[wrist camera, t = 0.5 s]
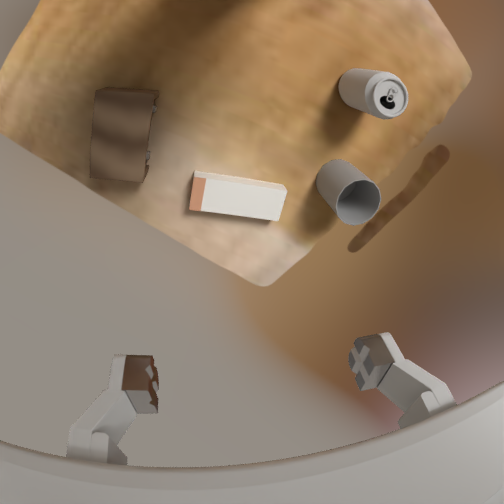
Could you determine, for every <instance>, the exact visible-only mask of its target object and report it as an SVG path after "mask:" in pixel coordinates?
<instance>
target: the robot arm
mask: <svg viewBox="0 0 504 504" xmlns="http://www.w3.org/2000/svg"><path fill="white" fill-rule="evenodd" d="M354 345H355V347H354V348H353V349H352V350H351V351H350V353H349V365H350V368H351V370H352V371H353V372H354V373H356V377H355V380H356V382H357V385H358V387H359V389H360V391H363V390H367V389H371V388H376V387H377V388H378V390H379V391H381V392H382V393H383V394H384V395H385V396H386V397H388V398H389V399H390V400H391V401H392V402H393V403H394V404H396V405H397V406H398V407H399V408H400V409H401V410H403V411H404V412H405V413H404V414H403V416H402V417H401V418H400V419H399V421H398V424H399V426H400V429H398V430H395V431H392V432H390V433H387V434H384V435H381V436H377V437H374V438H371V439H368V440H365V441H361V442H357V443H354V444H350V445H346V446H343V447H339V448H335V449H330V450H326V451H322V452H317V453H312V454H308V455H302V456H298V457H292V458H286V459H280V460H273V461H266V462H258V463H250V464H240V465H228V466H213V467H182V468H181V467H175V468H174V467H172V468H171V467H143V466H128V465H127V456H126V455H125V454H124V453H123V452H122V451H121V450H120V449H119V448H118V446H117V444H118V443H119V441H120V440H121V438H122V437H123V435H124V434H125V433H126V431H127V429H128V428H129V426H130V425H131V424H132V422H133V421H134V419H135V417H136V416H137V413H140V414H141V413H143V414H148V413H151V414H153V413H158V398H157V394H156V392H157V391H158V389H159V382H158V381H159V380H158V372H157V368H156V367H155V366H154V359H153V356H149V355H148V356H147V355H114V357H113V359H112V365H111V371H110V377H109V384H108V390H104V391H103V392H102V393H101V394H100V395H99V396H98V397H97V398H96V399H95V401H94V402H93V403H92V404H91V405H90V406H89V407H88V408H87V409H86V411H85V412H84V413H83V414H82V415H81V416H80V417H79V418H78V420H77V421H76V422H75V423H74V424H73V425H72V426H71V427H70V432H69V440H68V446H67V454H66V457H63V456H58V455H53V454H48V453H44V452H39V451H35V450H31V449H28V448H24V447H20V446H17V445H13V444H10V443H7V442H4V441H1V440H0V504H504V381H502V382H500V383H498V384H496V385H495V386H493V387H491V388H489V389H487V390H486V391H484V392H482V393H480V394H478V395H476V396H475V397H472V398H470V399H468V400H466V401H464V402H462V403H461V404H458V405H457V404H456V402H455V400H454V398H453V396H452V394H451V393H450V391H449V389H448V387H447V385H446V384H445V383H444V382H442V381H441V380H439V379H437V378H436V377H434V376H433V375H431V374H430V373H428V372H427V371H425V370H424V369H422V368H420V367H419V366H417V365H416V364H414V363H413V362H411V361H410V360H408V359H407V360H405V359H404V357H403V355H402V353H401V352H400V350H399V348H398V346H397V345H396V343H395V341H394V339H393V338H392V336H391V334H390V333H388V332H386V333H382V334H374V335H370V336H364V337H359V338H357V339H356V340H355V342H354Z"/></svg>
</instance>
